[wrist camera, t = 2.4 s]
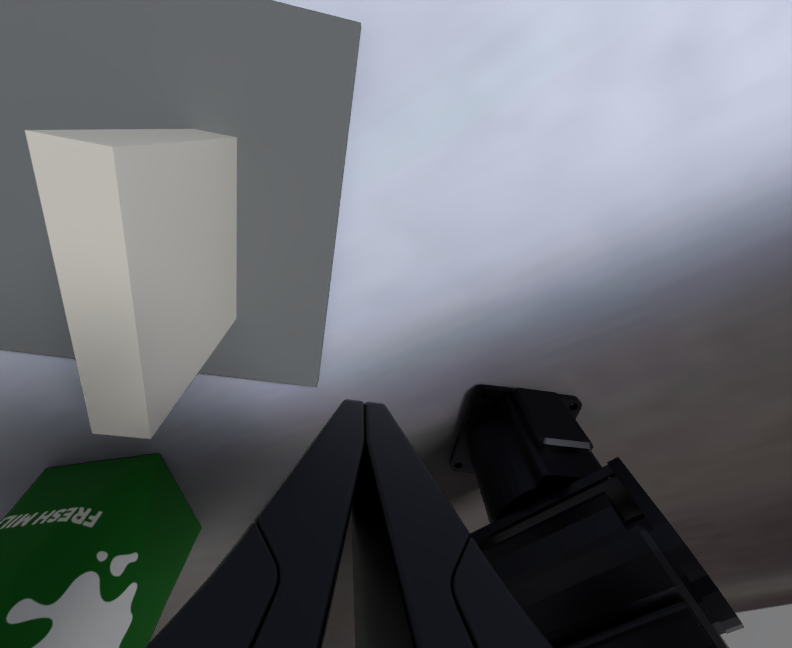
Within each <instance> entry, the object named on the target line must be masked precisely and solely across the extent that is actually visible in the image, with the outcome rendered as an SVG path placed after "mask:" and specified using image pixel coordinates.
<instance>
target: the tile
mask: <svg viewBox="0 0 792 648" xmlns="http://www.w3.org/2000/svg"><path fill="white" fill-rule="evenodd" d="M25 133H26V138H27V142H28V147H29V151H30V156H31V160H32V165H33V169H34V174H35V178H36V183H37V187H38V192H39V196H40V201H41V205H42V210H43V214H44V219H45V223H46V228H47V233H48V237H49V242H50V246H51V251H52V255H53V260H54V264H55V269H56V273H57V278H58V282H59V287H60V291H61V296H62V300H63V305H64V309H65V314H66V318H67V323H68V327H69V332H70V336H71V341H72V345H73V350H74V354H75V359H76V363H77V368H78V372H79V377H80V381H81V386H82V390H83V395H84V399H85V404H86V408H87V413H88V417H89V422H90V426H91V431H92V434H102V435H113V436H124V437H134V438H145V439H151V438H152V437H153V435H154V434H155V433H156V431H157V430H158V428H159V427H160V426H161V424H162V423H163V421H164V420H165V418H166V417H167V416H168V414H169V413H170V411H171V410H172V409H173V407H174V406H175V404H176V403H177V402H178V400H179V399H180V397H181V396H182V395H183V393H184V392H185V390H186V389H187V387H188V386H189V385H190V383H191V382H192V380H193V379H194V378H195V376H196V375H197V373H198V372H199V371H200V369H201V368H202V366H203V365H204V364H205V362H206V361H207V359H208V358H209V356H210V355H211V354H212V352H213V351H214V349H215V348H216V347H217V345H218V344H219V342H220V341H221V340H222V338H223V337H224V335H225V334H226V332H227V331H228V330H229V328H230V327H231V325H232V324H233V323H234V321H235V320H236V276H237V137H232V136H227V135H222V134H217V133H212V132H207V131H202V130H197V129H103V130H25Z"/></svg>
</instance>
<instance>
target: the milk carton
mask: <svg viewBox="0 0 792 648" xmlns="http://www.w3.org/2000/svg"><path fill="white" fill-rule="evenodd" d="M200 530H201V526H200V524H199V522H198V520H197V519H196V517H195V515H194V513H193V512H192V510H191V508H190V506H189V504H188V503H187V501H186V499H185V497H184V496H183V494H182V492H181V490H180V489H179V487H178V485H177V483H176V482H175V480H174V478H173V476H172V475H171V473H170V471H169V469H168V467H167V466H166V464H165V462H164V460H163V459H162V457H161V455H160V454H159V453H158V454H151V455H143V456H135V457H128V458H120V459H113V460H105V461H98V462H90V463H82V464H75V465H67V466H60V467H52V468H46V469H45V470H44V471H43V472H42V473H41V475H40V476H39V477H38V478H37V479H36V481H35V482H34V483H33V484H32V485H31V486H30V488H29V489H28V490H27V491H26V492H25V494H24V495H23V496H22V497H21V498H20V499H19V501H18V502H17V503H16V504H15V505H14V507H13V508H12V509H11V510H10V511H9V512H8V514H7V515H6V516H5V517H4V518H3V519H2V521H1V522H0V648H145V647H146V646H147V645H148V644H149V641H150V639H151V637H152V635H153V632H154V630H155V628H156V625H157V623H158V621H159V618H160V616H161V614H162V611H163V609H164V607H165V605H166V602H167V600H168V598H169V596H170V594H171V592H172V589H173V587H174V585H175V583H176V581H177V579H178V577H179V575H180V572H181V570H182V568H183V566H184V564H185V562H186V560H187V557H188V555H189V553H190V551H191V549H192V547H193V545H194V542H195V540H196V538H197V536H198V534H199V532H200Z"/></svg>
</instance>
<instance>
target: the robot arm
mask: <svg viewBox="0 0 792 648" xmlns="http://www.w3.org/2000/svg"><path fill="white" fill-rule="evenodd" d="M484 392H486V393H485V394H484V395H480V394H481V393H484ZM571 404H573V405H571ZM570 405H571V406H570ZM581 407H582V403H581V402H580V400H579V399H578V398H577V397H575V396H570V395H562V394H557V393H555V392H547V391H539V390H531V389H523V388H507V387H499V386H492V385H479V386H477V387H476V388H475V389H474V391H473V394H472V397H471V400H470V403H469V406H468V409H467V411H466V414H465V417H464V420H463V423H462V426H461V429H460V431H459V434H458V437H457V440H456V443H455V446H454V449H453V451H452V454H451V457H450V461H449V462H450V467H451V469H452V470H454V471H461V472H471V473H475V475H476V478H477V481H478V485H479V488H480V492H481V495H482V498H483V502H484V505H485V508H486V512H487V515H488V518H489V522H490V524H489V525H487V526H485V527H483V528H481V529H479V530H477V531H475V532H473V533H471V534H470V533H469V531H468V530H467V528H466V527H465V525H464V524H463V522H462V521H461V519H460V518H459V516H458V515H457V513H456V512H455V510H454V509H453V507H452V506H451V504H450V503H449V501H448V499H447V498H446V496H445V495H444V493H443V492H442V490H441V489H440V487H439V486H438V484H437V483H436V481H435V480H434V478H433V477H432V475H431V474H430V472H429V471H428V469H427V468H426V466H425V465H424V463H423V462H422V460H421V459H420V457H419V455H418V454H417V452H416V451H415V449H414V448H413V446H412V445H411V443H410V442H409V440H408V439H407V437H406V436H405V434H404V433H403V431H402V430H401V428H400V427H399V425H398V424H397V422H396V421H395V419H394V418H393V416H392V415H391V413H390V411H389V410H388V408H387V407H386V406H385V405H384V404H383V403H375V402H366V403H365V404H364V403H363V402H362V401H358V400H350V399H346V400H344V401H343V402H342V403H341V405H340V406H339V407H338V409H337V410H336V411H335V413H334V414H333V415H332V417H331V418H330V419H329V421H328V422H327V423H326V425H325V426H324V427H323V429H322V430H321V431H320V433H319V434H318V435H317V437H316V438H315V439H314V441H313V442H312V443H311V445H310V446H309V447H308V449H307V450H306V451H305V453H304V454H303V455H302V457H301V458H300V459H299V461H298V462H297V463H296V465H295V466H294V467H293V469H292V470H291V471H290V473H289V474H288V475H287V477H286V478H285V479H284V481H283V482H282V483H281V485H280V486H279V487H278V489H277V490H276V491H275V493H274V494H273V495H272V497H271V498H270V499H269V501H268V502H267V503H266V505H265V506H264V507H263V509H262V510H261V511H260V513H259V514H258V515H257V517H256V518H255V521H254V522H253V523H251V524H250V526H249V527H248V528H247V530H246V531H245V532H244V534H243V535H242V536H241V538H240V539H239V540H238V542H237V543H236V544H235V546H234V547H233V548H232V549H231V551H230V552H229V553H228V554H227V556H226V557H225V558H224V559H223V561H222V562H221V563H220V564H219V566H218V567H217V568H216V569H215V571H214V572H213V573H212V574H211V576H210V577H209V578H208V579H207V580H206V581H205V582H204V583H203V585H202V586H201V587H200V588H199V589H198V590H197V591H196V592H195V594H194V595H193V596H192V597H191V598H190V599H189V600H188V601H187V603H186V604H185V605H184V606H183V607H182V608H181V609H180V611H179V612H178V613H177V614H176V615H175V616H174V617H173V618H172V619H171V620H170V621H169V622H168V623H167V625H166V626H165V627H164V628H163V629H162V630H161V631H160V632H159V633H158V634H157V635H156V636H155V637H154V639H153V640H152V641H151V642H150V643H149V644H148V645H147V646H146V647H145V648H322V647H323V642H324V637H325V633H326V628H327V623H328V618H329V614H330V609H331V604H332V600H333V595H334V590H335V585H336V581H337V576H338V571H339V566H340V562H341V557H342V552H343V547H344V543H345V538H346V533H347V528H348V524H349V519H350V514H351V509H352V551H353V583H354V615H355V647H356V648H729V647H728V646H727V644H726V643H725V641H724V640H723V638H722V637H721V636H720V634H723V633H730V632H733V631H736V630H739V629H741V628H744V626H743V624H742V623H741V621H740V620H739V618H738V617H737V615H736V614H735V612H734V611H733V609H732V608H731V607H730V605H729V604H728V602H727V601H726V599H725V598H724V597H723V595H722V594H721V592H720V591H719V590H718V588H717V587H716V585H715V584H714V583H713V581H712V580H711V578H710V577H709V576H708V574H707V573H706V571H705V570H704V569H703V567H702V566H701V565H700V563H699V562H698V561H697V559H696V558H695V556H694V555H693V554H692V552H691V551H690V550H689V548H688V547H687V546H686V544H685V543H684V542H683V540H682V539H681V538H680V536H679V535H678V534H677V532H676V531H675V530H674V528H673V527H672V526H671V524H670V523H669V522H668V521H667V519H666V518H665V517H664V515H663V514H662V513H661V512H660V510H659V509H658V508H657V506H656V505H655V504H654V502H653V501H652V500H651V499H650V497H649V496H648V495H647V493H646V492H645V491H644V490H643V488H642V487H641V486H640V484H639V483H638V482H637V481H636V479H635V478H634V477H633V475H632V474H631V473H630V472H629V470H628V469H627V468H626V466H625V465H624V464H623V463H622V461H621V460H620V459H619V457H617V458H615V459H613V460H611V461H609V462H607V463H608V465H606V466H604V467H601V465H600V464H599V462H598V461H597V459H596V458H595V456H594V455H593V453H592V452H591V450H592V448H593V445H592V443H591V442H590V440H589V439H588V437H587V436H586V434H585V433H584V431H583V430H582V429H581V427H580V426H579V424H578V423H577V421H576V420H575V419H576V417H577V415H578V413H579V411H580V409H581Z"/></svg>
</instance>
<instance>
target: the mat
mask: <svg viewBox="0 0 792 648" xmlns="http://www.w3.org/2000/svg"><path fill="white" fill-rule="evenodd" d="M360 32H361V23H360V22H356V21H352V20H348V19H344V18H340V17H336V16H332V15H328V14H324V13H320V12H316V11H312V10H308V9H304V8H300V7H296V6H292V5H288V4H284V3H281V2H277V1H273V0H0V350H9V351H17V352H26V353H34V354H42V355H51V356H59V357H68V358H75V354H74V350H73V345H72V341H71V336H70V332H69V327H68V323H67V318H66V314H65V309H64V305H63V300H62V296H61V291H60V287H59V282H58V278H57V273H56V269H55V264H54V260H53V255H52V251H51V246H50V242H49V237H48V233H47V228H46V223H45V219H44V214H43V210H42V205H41V201H40V196H39V192H38V187H37V183H36V178H35V174H34V169H33V165H32V160H31V156H30V151H29V147H28V142H27V138H26V133H25V130H103V129H197V130H202V131H207V132H212V133H217V134H222V135H227V136H232V137H237V276H236V320H235V321H234V323H233V324H232V325H231V327H230V328H229V330H228V331H227V332H226V334H225V335H224V337H223V338H222V340H221V341H220V342H219V344H218V345H217V347H216V348H215V349H214V351H213V352H212V354H211V355H210V356H209V358H208V359H207V361H206V362H205V364H204V365H203V366H202V368H201V369H200V371H199V372H198V373H203V374H211V375H219V376H228V377H236V378H245V379H253V380H262V381H270V382H278V383H287V384H295V385H304V386H312V387H317V385H318V380H319V372H320V364H321V355H322V347H323V339H324V330H325V322H326V314H327V306H328V297H329V289H330V281H331V272H332V264H333V256H334V248H335V239H336V231H337V223H338V214H339V206H340V198H341V190H342V181H343V173H344V165H345V156H346V148H347V140H348V132H349V123H350V115H351V107H352V99H353V90H354V82H355V74H356V65H357V57H358V49H359V41H360Z"/></svg>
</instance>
